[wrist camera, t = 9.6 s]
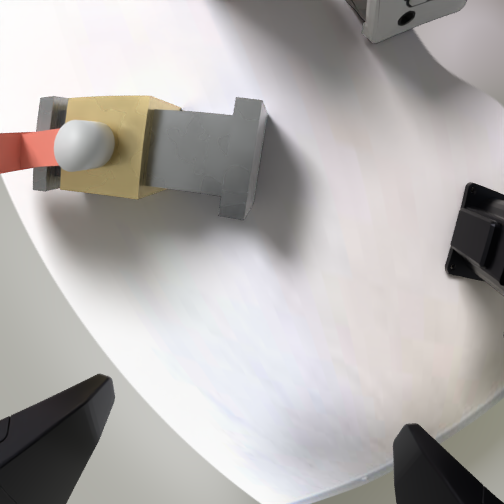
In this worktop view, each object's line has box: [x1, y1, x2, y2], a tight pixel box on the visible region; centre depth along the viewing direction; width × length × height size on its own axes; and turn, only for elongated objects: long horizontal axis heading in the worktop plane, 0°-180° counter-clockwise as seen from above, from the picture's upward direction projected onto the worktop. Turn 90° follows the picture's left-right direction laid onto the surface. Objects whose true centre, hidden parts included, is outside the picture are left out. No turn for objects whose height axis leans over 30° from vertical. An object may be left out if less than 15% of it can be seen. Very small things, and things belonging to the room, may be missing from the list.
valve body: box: [33, 96, 268, 220], centre depth 16 cm, size 13×6×5 cm, turn 81°
